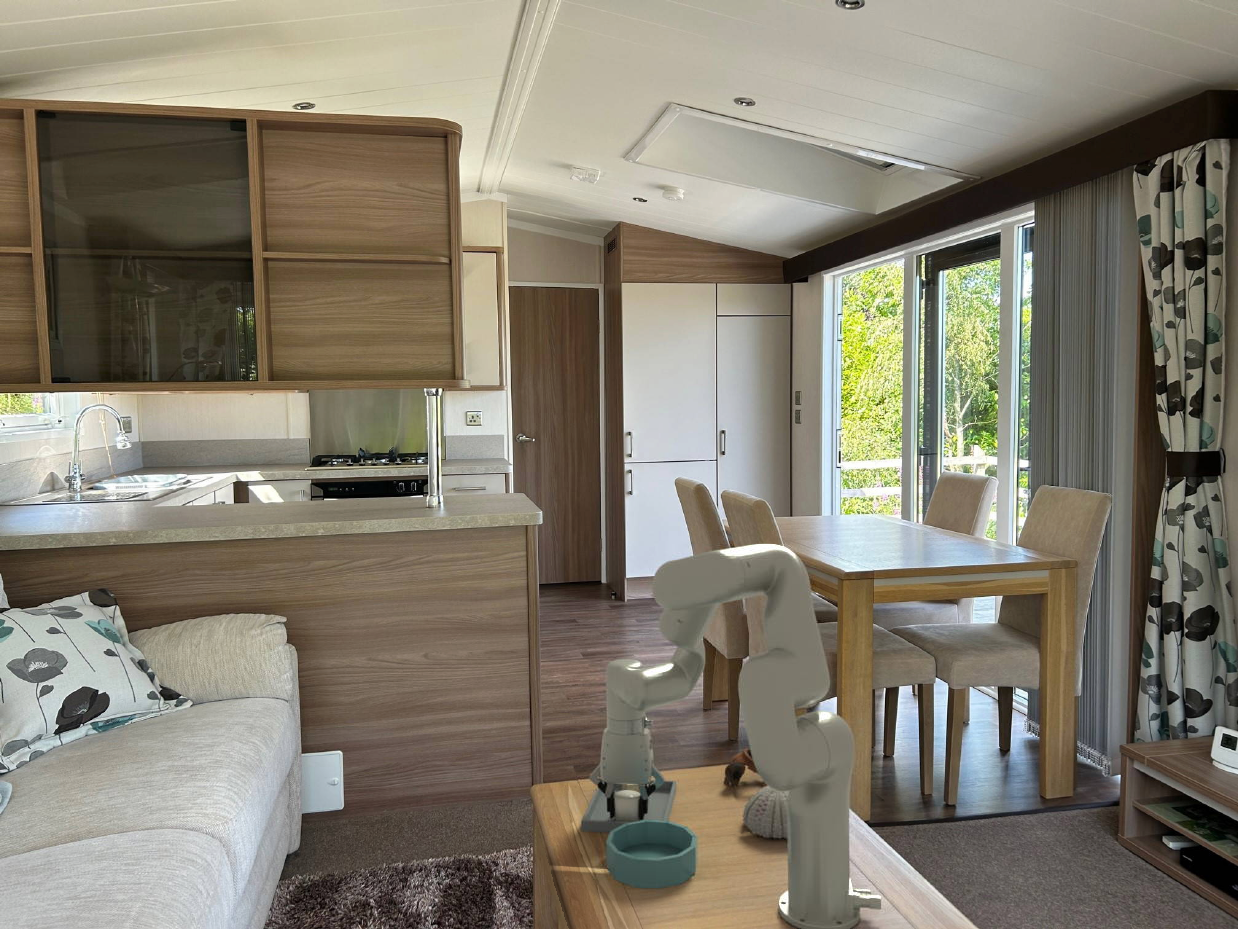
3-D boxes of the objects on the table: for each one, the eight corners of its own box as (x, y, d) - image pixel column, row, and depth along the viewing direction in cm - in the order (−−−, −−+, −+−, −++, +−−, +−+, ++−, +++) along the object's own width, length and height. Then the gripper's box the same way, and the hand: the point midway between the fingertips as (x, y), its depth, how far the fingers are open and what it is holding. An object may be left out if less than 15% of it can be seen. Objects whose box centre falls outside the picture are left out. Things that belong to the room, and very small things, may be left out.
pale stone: (642, 814, 179) (642, 791, 178) (638, 826, 173) (638, 801, 173) (616, 813, 179) (616, 789, 179) (612, 824, 174) (611, 800, 174)
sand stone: (642, 792, 190) (642, 773, 190) (648, 802, 184) (648, 783, 184) (622, 794, 189) (622, 775, 189) (627, 804, 184) (627, 785, 184)
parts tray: (676, 792, 191) (676, 780, 191) (664, 838, 169) (664, 825, 169) (602, 789, 194) (602, 777, 193) (581, 834, 172) (581, 821, 172)
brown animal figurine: (734, 774, 202) (753, 744, 201) (765, 803, 196) (784, 772, 195) (705, 776, 193) (725, 744, 192) (737, 806, 187) (757, 774, 186)
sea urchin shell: (728, 828, 173) (727, 787, 173) (773, 808, 182) (773, 769, 182) (783, 852, 163) (782, 808, 163) (828, 829, 172) (827, 788, 172)
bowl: (700, 848, 165) (699, 822, 165) (693, 891, 150) (692, 862, 149) (615, 843, 168) (615, 818, 167) (600, 885, 152) (600, 857, 152)
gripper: (671, 719, 178) (673, 810, 179) (586, 717, 181) (588, 806, 182) (667, 732, 171) (669, 827, 171) (579, 729, 174) (580, 822, 174)
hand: (627, 815), depth 176 cm, fingers closed on pale stone, 5 cm apart
